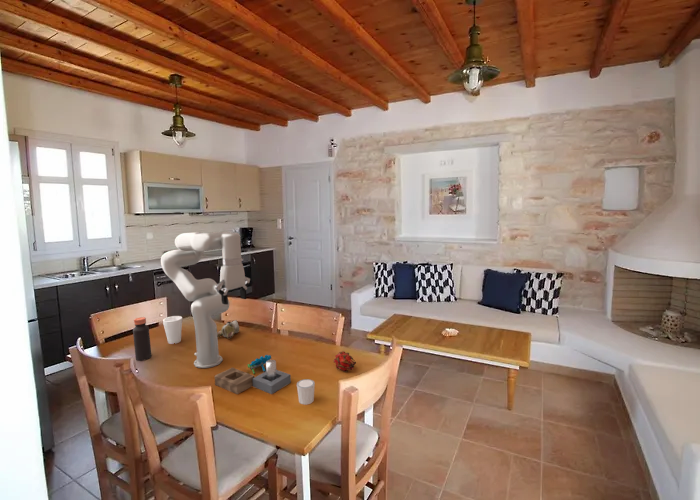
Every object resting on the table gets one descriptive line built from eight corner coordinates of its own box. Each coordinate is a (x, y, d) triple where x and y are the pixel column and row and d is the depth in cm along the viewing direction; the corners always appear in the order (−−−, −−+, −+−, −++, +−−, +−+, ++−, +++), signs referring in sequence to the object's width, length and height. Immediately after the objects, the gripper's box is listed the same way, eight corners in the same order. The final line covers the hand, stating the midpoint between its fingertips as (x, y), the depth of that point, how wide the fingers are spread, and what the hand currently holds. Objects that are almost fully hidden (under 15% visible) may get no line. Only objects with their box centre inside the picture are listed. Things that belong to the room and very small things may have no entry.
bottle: (132, 359, 177) (128, 319, 175) (146, 354, 183) (142, 315, 180) (141, 361, 174) (137, 321, 171) (154, 356, 180) (150, 317, 177)
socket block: (252, 386, 149) (252, 378, 149) (272, 375, 158) (271, 368, 158) (271, 394, 143) (271, 385, 143) (290, 382, 152) (290, 374, 152)
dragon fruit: (337, 366, 170) (353, 380, 160) (325, 361, 164) (341, 374, 155) (347, 350, 171) (363, 363, 162) (336, 345, 165) (351, 357, 156)
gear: (269, 359, 171) (271, 351, 164) (273, 370, 168) (276, 362, 161) (246, 368, 166) (247, 359, 158) (250, 380, 163) (252, 372, 156)
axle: (264, 385, 150) (263, 362, 149) (272, 381, 154) (271, 358, 152) (271, 387, 148) (270, 364, 147) (278, 383, 152) (277, 361, 150)
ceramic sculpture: (243, 318, 210) (227, 328, 196) (245, 332, 212) (229, 343, 198) (228, 316, 213) (211, 326, 199) (229, 330, 215) (213, 341, 201)
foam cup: (171, 346, 193) (169, 322, 191) (161, 343, 197) (159, 320, 195) (187, 340, 201) (185, 317, 199) (177, 337, 205) (175, 315, 204)
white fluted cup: (315, 395, 142) (315, 378, 141) (314, 405, 135) (314, 387, 134) (298, 395, 142) (297, 379, 141) (296, 405, 135) (295, 388, 134)
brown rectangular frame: (215, 384, 151) (214, 375, 151) (232, 376, 159) (232, 367, 158) (237, 394, 144) (236, 385, 143) (254, 384, 151) (254, 375, 150)
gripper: (242, 258, 162) (244, 295, 165) (208, 264, 148) (211, 304, 151) (254, 259, 158) (256, 297, 161) (220, 266, 144) (223, 307, 146)
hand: (234, 301), depth 156 cm, fingers open, 9 cm apart
